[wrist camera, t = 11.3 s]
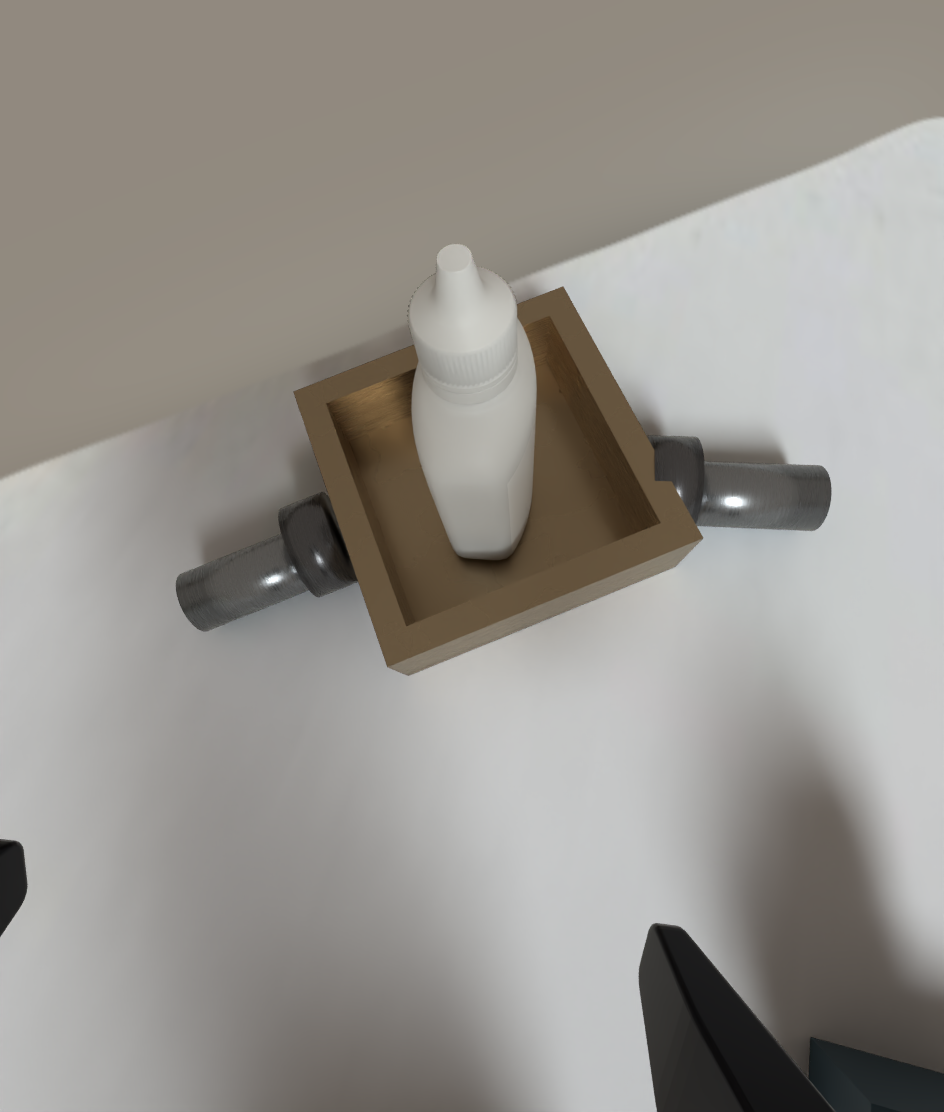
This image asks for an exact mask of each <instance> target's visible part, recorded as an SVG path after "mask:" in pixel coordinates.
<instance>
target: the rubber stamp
mask: <svg viewBox="0 0 944 1112" xmlns="http://www.w3.org/2000/svg"><path fill="white" fill-rule="evenodd" d="M809 1080H810V1081H811V1083H812V1084H813V1085H814V1086H815V1087H816V1089H817V1090H818V1091H819V1092H820V1093H821V1095H822V1096H823V1097H824V1098H825V1099H826V1101H827V1102H828V1103H829V1104H830V1105H831V1107H832V1108H833V1109H834V1110H835V1111H836V1112H944V1074H942V1073H939V1072H935V1071H931V1070H928V1069H924V1068H921V1067H917V1066H913V1065H910V1064H906V1063H903V1062H899V1061H895V1060H892V1059H888V1058H884V1057H881V1056H877V1055H874V1054H870V1053H866V1052H863V1051H859V1050H856V1049H852V1048H848V1047H845V1046H841V1045H837V1044H834V1043H830V1042H827V1041H823V1040H819V1039H816V1038H812V1037H811V1038H810V1062H809Z"/></svg>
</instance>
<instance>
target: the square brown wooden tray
mask: <svg viewBox="0 0 944 1112" xmlns="http://www.w3.org/2000/svg"><path fill="white" fill-rule="evenodd" d="M517 318H518V320H519V321H520V323H521V325H522V326H523V328H524V331H525V333H526V335H527V338H528V340H529V343H530V346H531V350H532V354H533V358H534V363H535V371H536V385H537V395H536V422H535V444H534V466H533V488H532V500H531V507H530V512H529V516H528V520H527V523H526V526H525V529H524V532H523V534H522V537H521V539H520V541H519V543H518V545H517V547H516V548H515V550H514V552H513V553H512V554H511V555H510V556H509V557H508V558H507V559H502V560H484V559H470V558H464V557H461V556H458V555H457V553H456V552H455V551H454V550H453V548H452V545H451V543H450V540H449V538H448V535H447V533H446V530H445V528H444V525H443V523H442V520H441V518H440V515H439V513H438V510H437V507H436V505H435V502H434V500H433V497H432V495H431V492H430V489H429V487H428V484H427V481H426V478H425V475H424V472H423V469H422V466H421V463H420V460H419V456H418V452H417V448H416V444H415V439H414V433H413V425H412V411H411V405H412V389H413V382H414V376H415V372H416V368H417V364H418V361H419V360H418V356H417V353H416V349H415V346H414V345H412V346H409V347H407V348H404V349H402V350H399V351H396V352H394V353H391V354H389V355H386V356H384V357H381V358H379V359H376V360H373V361H371V362H368V363H366V364H363V365H361V366H358V367H355V368H353V369H350V370H348V371H345V372H343V373H340V374H338V375H335V376H332V377H330V378H327V379H325V380H322V381H320V382H317V383H314V384H312V385H309V386H307V387H304V388H302V389H299V390H297V391H294V395H295V398H296V401H297V404H298V407H299V410H300V413H301V416H302V419H303V421H304V424H305V427H306V430H307V433H308V436H309V439H310V442H311V445H312V448H313V451H314V454H315V457H316V459H317V462H318V465H319V468H320V471H321V474H322V477H323V480H324V483H325V486H326V489H327V492H328V495H329V498H330V500H331V503H332V506H333V509H334V512H335V515H336V518H337V521H338V524H339V527H340V530H341V533H342V536H343V538H344V541H345V544H346V547H347V550H348V553H349V556H350V559H351V562H352V565H353V568H354V571H355V574H356V577H357V579H358V582H359V585H360V588H361V591H362V594H363V597H364V600H365V603H366V606H367V609H368V612H369V615H370V617H371V620H372V623H373V626H374V629H375V632H376V635H377V638H378V641H379V644H380V647H381V650H382V653H383V656H384V658H385V661H386V664H387V667H388V668H391V669H393V670H396V671H398V672H400V673H403V674H405V675H408V676H409V675H412V674H414V673H417V672H419V671H422V670H424V669H426V668H429V667H431V666H434V665H436V664H439V663H441V662H444V661H446V660H449V659H451V658H453V657H456V656H458V655H461V654H463V653H466V652H468V651H471V650H473V649H475V648H478V647H480V646H483V645H485V644H488V643H490V642H493V641H495V640H497V639H500V638H502V637H505V636H507V635H510V634H512V633H515V632H517V631H519V630H522V629H524V628H527V627H529V626H532V625H534V624H537V623H539V622H541V621H544V620H546V619H549V618H551V617H554V616H556V615H559V614H561V613H563V612H566V611H568V610H571V609H573V608H576V607H578V606H581V605H583V604H585V603H588V602H590V601H593V600H595V599H598V598H600V597H603V596H605V595H607V594H610V593H612V592H615V591H617V590H620V589H622V588H625V587H627V586H629V585H632V584H634V583H637V582H639V581H642V580H644V579H647V578H649V577H651V576H654V575H656V574H659V573H661V572H664V571H666V570H669V569H671V568H673V567H675V566H676V565H677V564H678V563H679V562H680V561H681V560H682V559H683V558H684V557H685V556H686V555H687V554H688V553H689V552H690V551H691V550H692V549H693V548H694V547H695V546H696V545H697V544H698V543H699V542H700V541H701V540H702V539H703V537H702V535H701V533H700V531H699V529H698V528H697V526H696V524H695V522H694V520H693V519H692V517H691V515H690V513H689V511H688V510H687V508H686V506H685V504H684V502H683V501H682V499H681V497H680V495H679V494H678V492H677V490H676V488H675V486H674V485H673V483H672V481H655V450H654V449H653V447H652V445H651V443H650V441H649V440H648V438H647V436H646V434H645V432H644V431H643V429H642V427H641V425H640V423H639V422H638V420H637V418H636V416H635V415H634V413H633V411H632V409H631V407H630V406H629V404H628V402H627V400H626V398H625V397H624V395H623V393H622V391H621V389H620V388H619V386H618V384H617V382H616V380H615V379H614V377H613V375H612V373H611V371H610V370H609V368H608V366H607V364H606V362H605V361H604V359H603V357H602V355H601V353H600V352H599V350H598V348H597V346H596V344H595V343H594V341H593V339H592V337H591V336H590V334H589V332H588V330H587V328H586V327H585V325H584V323H583V321H582V319H581V318H580V316H579V314H578V312H577V310H576V309H575V307H574V305H573V303H572V301H571V300H570V298H569V296H568V294H567V292H566V291H565V289H564V287H560V288H558V289H555V290H553V291H550V292H548V293H545V294H542V295H540V296H537V297H535V298H532V299H530V300H527V301H525V302H522V303H519V304H517ZM647 525H648V526H647ZM646 527H647V529H645V528H646Z"/></svg>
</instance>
